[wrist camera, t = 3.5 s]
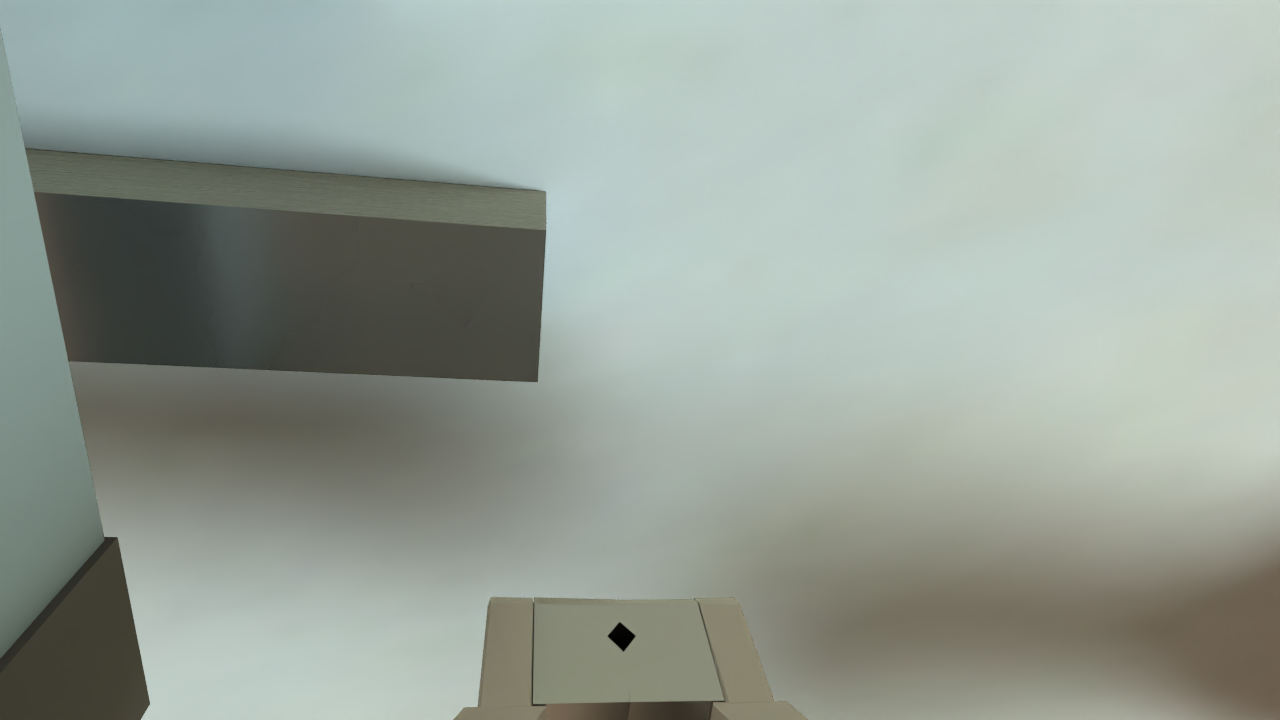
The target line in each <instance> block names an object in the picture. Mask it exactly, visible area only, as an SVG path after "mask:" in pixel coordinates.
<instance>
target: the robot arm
mask: <svg viewBox="0 0 1280 720" xmlns="http://www.w3.org/2000/svg"><path fill="white" fill-rule="evenodd" d="M453 720H808V719H807V718H806V717H804V716H803V715H802V714H801V713H800V712H798V711H797V710H796V709H795V708H794V707H793V706H791V705H790V704H789V703H788V702H774V699H773V696H772V693H771V691H770V688H769V685H768V682H767V679H766V677H765V674H764V671H763V668H762V665H761V663H760V660H759V657H758V654H757V651H756V649H755V646H754V643H753V640H752V637H751V634H750V632H749V629H748V626H747V623H746V620H745V618H744V615H743V612H742V609H741V606H740V604H739V602H738V601H737V600H736V599H735V598H695V599H694V600H692V599H657V600H613V599H574V598H535V597H534V602H533V599H532V598H506V597H491V598H490V601H489V604H488V610H487V620H486V630H485V640H484V649H483V659H482V669H481V679H480V689H479V699H478V707H467V708H463V709H462V710H461V712H460V713H459V714H458V715H457V716H456V717H455V718H454V719H453Z"/></svg>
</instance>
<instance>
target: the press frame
mask: <svg viewBox="0 0 1280 720" xmlns="http://www.w3.org/2000/svg"><path fill="white" fill-rule="evenodd" d="M25 151H26V156H27V161H28V166H29V171H30V176H31V181H32V185H33V190H34V195H35V200H36V205H37V210H38V215H39V220H40V225H41V230H42V235H43V239H44V244H45V249H46V254H47V259H48V264H49V269H50V274H51V279H52V284H53V289H54V293H55V298H56V303H57V308H58V313H59V318H60V323H61V328H62V333H63V338H64V342H65V347H66V352H67V357H68V361H80V362H102V363H125V364H147V365H169V366H191V367H213V368H235V369H257V370H280V371H302V372H324V373H346V374H368V375H390V376H412V377H435V378H457V379H479V380H501V381H523V382H538V365H539V347H540V329H541V311H542V294H543V276H544V258H545V240H546V192H545V191H533V190H521V189H509V188H496V187H484V186H472V185H460V184H448V183H436V182H424V181H411V180H399V179H387V178H375V177H363V176H351V175H339V174H326V173H314V172H302V171H290V170H278V169H266V168H254V167H241V166H229V165H217V164H205V163H193V162H181V161H169V160H156V159H144V158H132V157H120V156H108V155H96V154H84V153H71V152H59V151H47V150H35V149H25Z"/></svg>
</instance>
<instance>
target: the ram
mask: <svg viewBox="0 0 1280 720" xmlns="http://www.w3.org/2000/svg"><path fill="white" fill-rule="evenodd" d="M149 705H150V701H149V696H148V691H147V686H146V681H145V676H144V671H143V665H142V660H141V655H140V650H139V645H138V640H137V635H136V630H135V625H134V619H133V614H132V609H131V604H130V599H129V594H128V589H127V584H126V579H125V573H124V568H123V563H122V558H121V553H120V548H119V543H118V538H117V537H104V534H103V529H102V524H101V519H100V514H99V509H98V504H97V499H96V495H95V490H94V485H93V480H92V475H91V470H90V465H89V460H88V455H87V450H86V446H85V441H84V436H83V431H82V426H81V421H80V416H79V411H78V406H77V401H76V396H75V392H74V387H73V382H72V377H71V372H70V367H69V362H68V357H67V352H66V347H65V342H64V338H63V333H62V328H61V323H60V318H59V313H58V308H57V303H56V298H55V293H54V289H53V284H52V279H51V274H50V269H49V264H48V259H47V254H46V249H45V244H44V239H43V235H42V230H41V225H40V220H39V215H38V210H37V205H36V200H35V195H34V190H33V185H32V181H31V176H30V171H29V166H28V161H27V156H26V151H25V146H24V141H23V136H22V132H21V127H20V122H19V117H18V112H17V107H16V102H15V97H14V92H13V87H12V82H11V78H10V73H9V68H8V63H7V58H6V53H5V48H4V43H3V38H2V33H1V29H0V720H141V718H142V716H143V715H144V713H145V711H146V710H147V708H148V706H149Z"/></svg>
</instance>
